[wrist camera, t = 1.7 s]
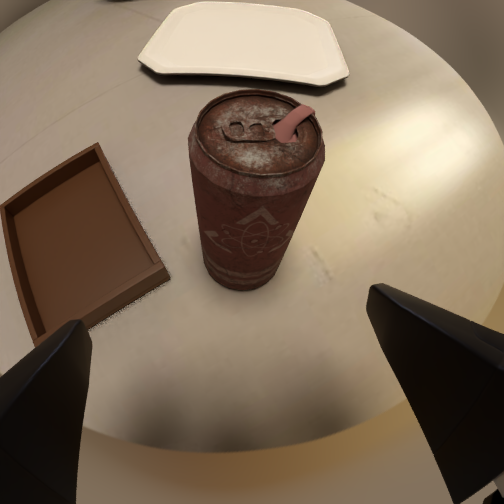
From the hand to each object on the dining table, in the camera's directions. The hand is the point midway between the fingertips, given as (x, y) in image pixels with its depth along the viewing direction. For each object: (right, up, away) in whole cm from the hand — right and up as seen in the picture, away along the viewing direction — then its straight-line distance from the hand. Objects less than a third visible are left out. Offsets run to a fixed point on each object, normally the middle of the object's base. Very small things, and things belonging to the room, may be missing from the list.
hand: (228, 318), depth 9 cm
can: (0, +2, +16) cm, 16 cm away
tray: (-15, +3, +15) cm, 21 cm away
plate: (0, +35, +31) cm, 47 cm away
